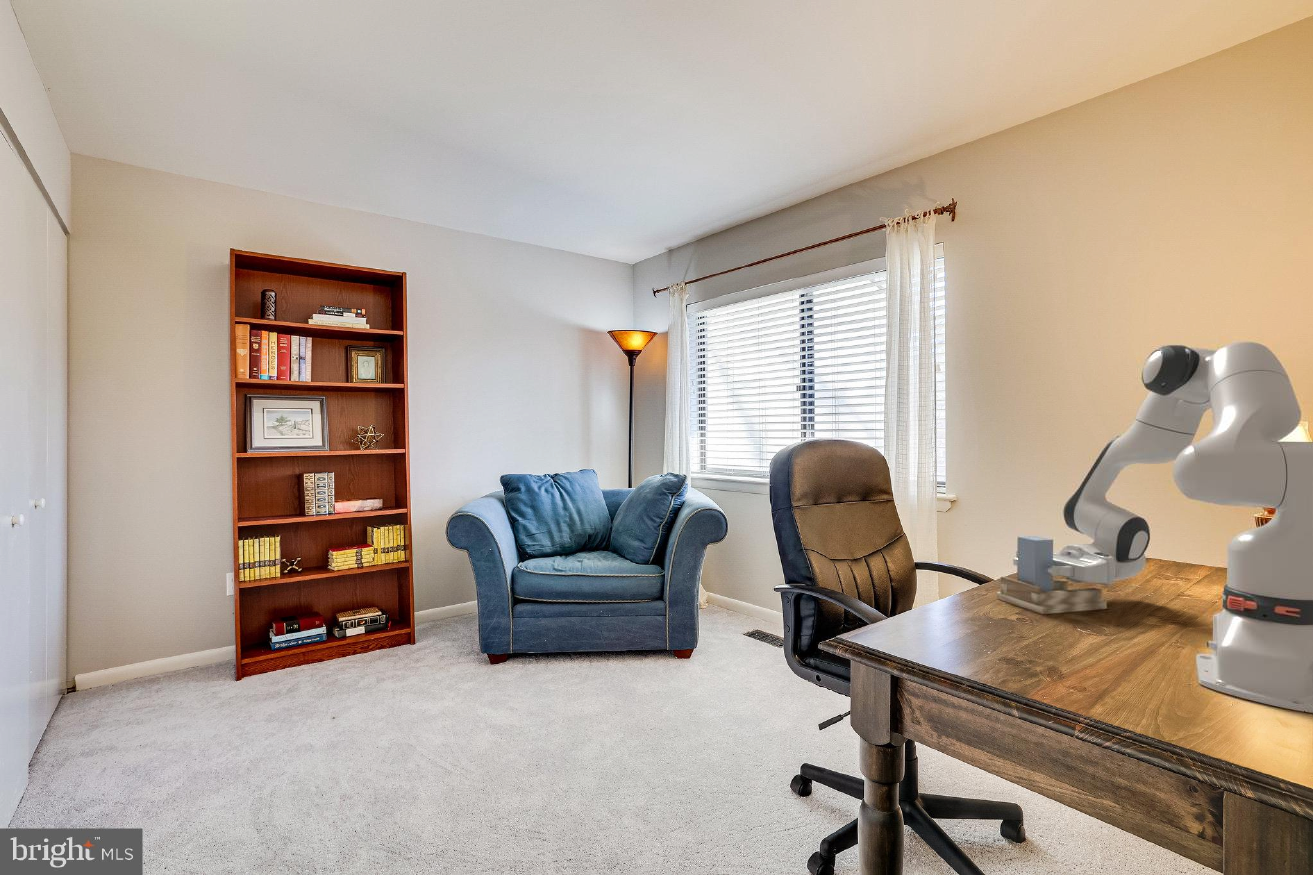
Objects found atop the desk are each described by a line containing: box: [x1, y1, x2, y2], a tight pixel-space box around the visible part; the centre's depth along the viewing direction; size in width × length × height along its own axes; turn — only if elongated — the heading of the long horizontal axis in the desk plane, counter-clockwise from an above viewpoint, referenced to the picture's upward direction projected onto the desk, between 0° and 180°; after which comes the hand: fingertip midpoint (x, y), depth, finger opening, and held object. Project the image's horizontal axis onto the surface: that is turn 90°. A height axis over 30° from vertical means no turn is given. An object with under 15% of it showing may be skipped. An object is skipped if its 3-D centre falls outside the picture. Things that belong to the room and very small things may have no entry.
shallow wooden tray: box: [995, 576, 1108, 615], centre depth 145 cm, size 18×13×6 cm
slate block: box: [1016, 535, 1054, 592], centre depth 144 cm, size 5×5×14 cm
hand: (1032, 566), depth 144 cm, fingers open, 8 cm apart
